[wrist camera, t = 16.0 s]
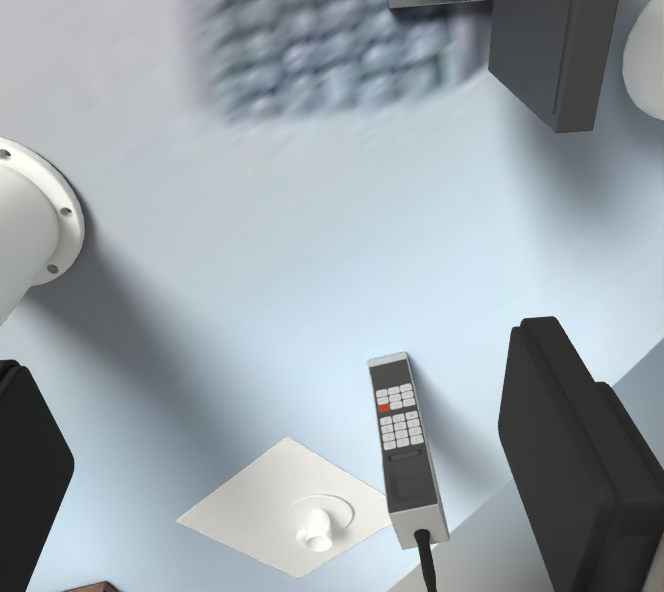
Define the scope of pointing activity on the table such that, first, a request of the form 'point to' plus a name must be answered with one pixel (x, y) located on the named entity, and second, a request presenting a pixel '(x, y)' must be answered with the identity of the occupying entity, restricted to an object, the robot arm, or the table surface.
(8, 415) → the robot arm
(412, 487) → the vintage mobile phone
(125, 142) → the table surface
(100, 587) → the letter holder
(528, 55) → the monitor
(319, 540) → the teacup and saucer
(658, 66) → the flower vase
